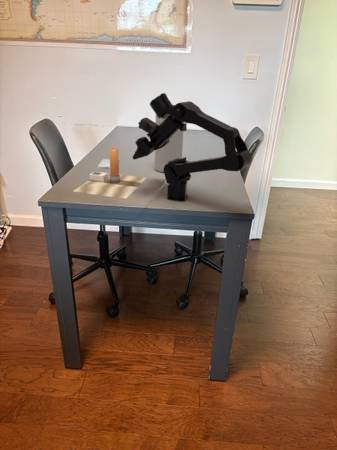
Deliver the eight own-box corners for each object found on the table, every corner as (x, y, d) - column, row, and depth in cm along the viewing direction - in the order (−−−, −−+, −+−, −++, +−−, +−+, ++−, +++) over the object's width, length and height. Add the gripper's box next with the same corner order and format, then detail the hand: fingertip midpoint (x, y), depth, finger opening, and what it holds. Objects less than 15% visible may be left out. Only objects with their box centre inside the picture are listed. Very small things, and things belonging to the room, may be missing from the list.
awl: (122, 181, 136) (121, 149, 130) (115, 183, 133) (114, 151, 127) (114, 179, 138) (113, 147, 132) (107, 181, 135) (106, 149, 129)
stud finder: (107, 178, 138) (107, 172, 137) (103, 181, 135) (103, 175, 133) (94, 177, 139) (93, 171, 138) (89, 180, 136) (89, 174, 135)
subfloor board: (146, 181, 142) (146, 177, 141) (126, 202, 121) (126, 198, 120) (100, 175, 146) (100, 171, 145) (73, 195, 125) (72, 191, 125)
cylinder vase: (150, 166, 160) (151, 111, 149) (174, 164, 165) (177, 111, 153) (160, 174, 150) (161, 116, 139) (185, 172, 155) (189, 116, 143)
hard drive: (102, 158, 165) (97, 166, 154) (119, 159, 165) (114, 167, 154) (102, 162, 166) (97, 169, 155) (119, 162, 166) (115, 170, 155)
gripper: (163, 107, 126) (136, 134, 134) (140, 114, 110) (112, 143, 119) (181, 131, 127) (154, 156, 135) (161, 141, 111) (132, 168, 120)
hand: (139, 155), depth 127 cm, fingers open, 9 cm apart
